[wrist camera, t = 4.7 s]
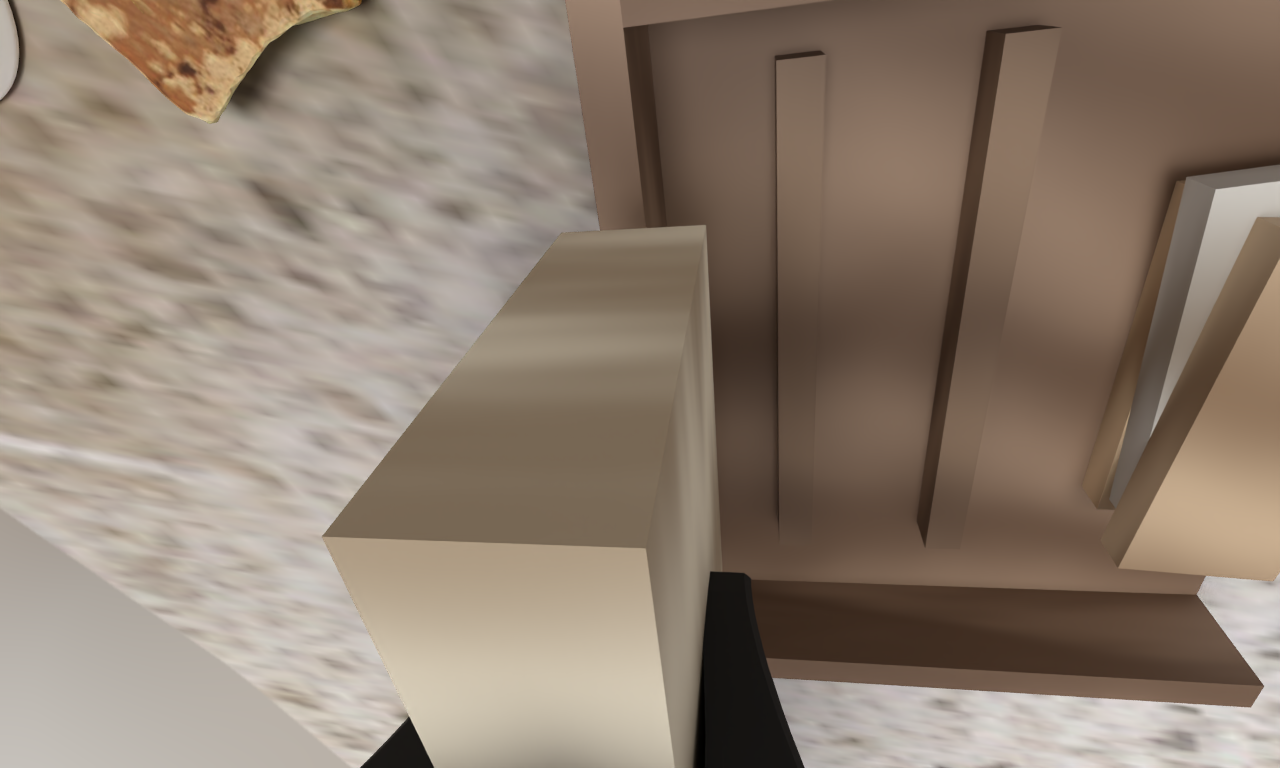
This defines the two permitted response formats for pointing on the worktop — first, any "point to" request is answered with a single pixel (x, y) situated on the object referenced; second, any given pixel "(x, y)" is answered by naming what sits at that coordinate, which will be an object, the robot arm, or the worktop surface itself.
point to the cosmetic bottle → (7, 48)
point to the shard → (197, 41)
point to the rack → (931, 307)
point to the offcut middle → (1192, 289)
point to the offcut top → (1216, 441)
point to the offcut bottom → (1129, 371)
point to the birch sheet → (556, 520)
